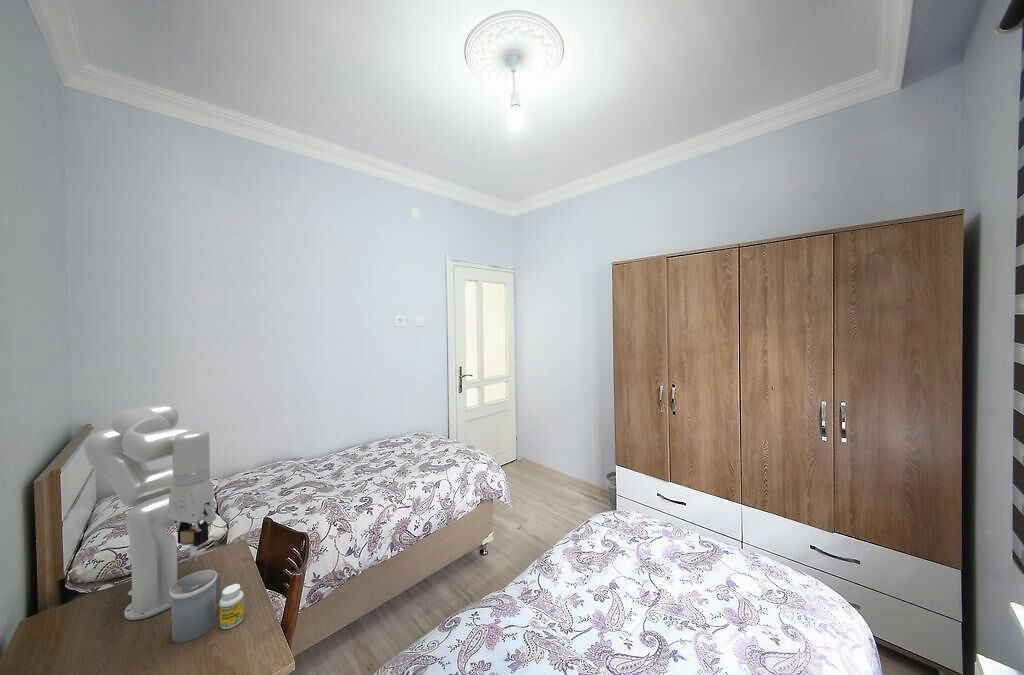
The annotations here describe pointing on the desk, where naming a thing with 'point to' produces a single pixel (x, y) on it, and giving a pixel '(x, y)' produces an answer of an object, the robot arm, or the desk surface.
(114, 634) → the desk surface
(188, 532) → the plunger
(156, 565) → the robot arm
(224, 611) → the supplement bottle
